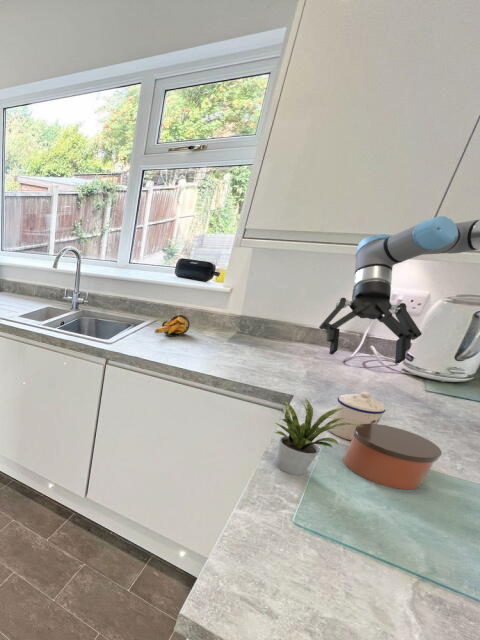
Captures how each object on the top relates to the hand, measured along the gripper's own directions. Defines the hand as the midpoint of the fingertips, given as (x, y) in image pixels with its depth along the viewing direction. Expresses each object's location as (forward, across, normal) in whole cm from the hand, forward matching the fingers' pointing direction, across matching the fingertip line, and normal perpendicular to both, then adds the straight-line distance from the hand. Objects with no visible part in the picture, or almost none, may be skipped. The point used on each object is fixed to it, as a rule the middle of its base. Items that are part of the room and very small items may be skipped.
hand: (365, 356), depth 108 cm
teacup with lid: (+20, 0, -5) cm, 20 cm away
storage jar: (+32, -1, +8) cm, 33 cm away
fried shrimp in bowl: (-26, +47, -53) cm, 75 cm away
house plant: (+38, +15, +13) cm, 43 cm away
